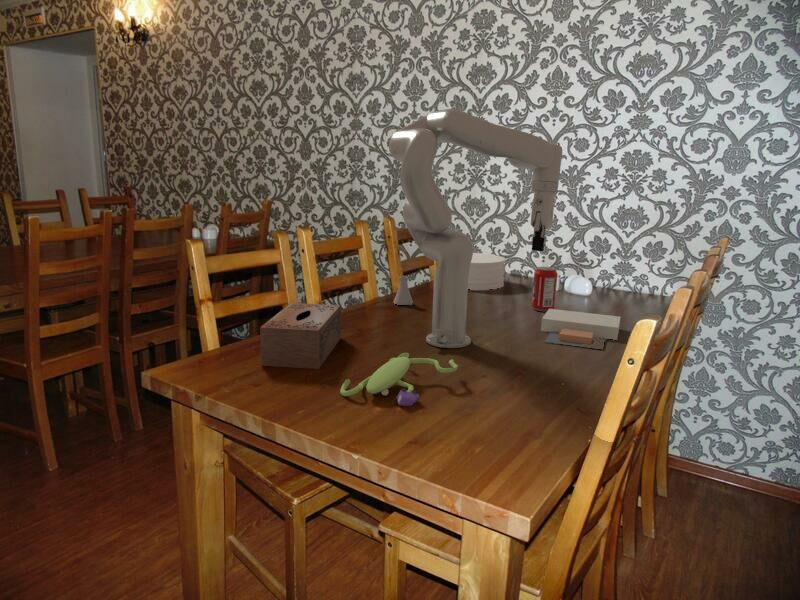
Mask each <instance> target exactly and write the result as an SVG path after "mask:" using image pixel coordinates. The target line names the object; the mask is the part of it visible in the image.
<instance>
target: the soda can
mask: <svg viewBox="0 0 800 600" xmlns="http://www.w3.org/2000/svg"><path fill="white" fill-rule="evenodd" d="M556 269H557V268H555V267H550V266H537V267H536V270H535V271H534V273H533V274H534V275H533V286H532V287H533V288H532V298H531V299H532V300H531V307H532V309H534V310H535V311H538V312H544V313H546V312H547V311H548V309H555V307H556V305H555V304H556V298H557V297H556V295H557V285H558V284H557V283H558V272H557V270H556Z"/></svg>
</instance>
